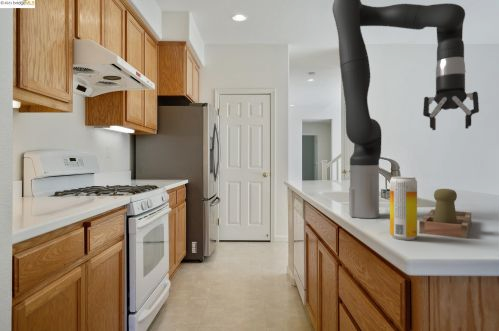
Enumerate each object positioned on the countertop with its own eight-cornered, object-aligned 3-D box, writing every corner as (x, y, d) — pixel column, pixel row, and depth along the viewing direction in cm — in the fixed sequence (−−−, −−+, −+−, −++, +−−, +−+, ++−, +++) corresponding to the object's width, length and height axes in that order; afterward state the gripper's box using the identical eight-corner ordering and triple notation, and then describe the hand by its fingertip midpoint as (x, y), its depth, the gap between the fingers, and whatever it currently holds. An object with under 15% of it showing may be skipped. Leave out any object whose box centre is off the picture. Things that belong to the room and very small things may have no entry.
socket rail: (467, 238, 79) (467, 226, 79) (419, 232, 85) (419, 221, 85) (471, 222, 98) (471, 212, 98) (431, 218, 104) (431, 209, 104)
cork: (463, 233, 83) (463, 190, 83) (437, 232, 84) (437, 190, 83) (452, 228, 89) (452, 188, 88) (428, 227, 90) (428, 187, 89)
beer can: (418, 236, 81) (418, 176, 81) (415, 242, 76) (415, 178, 76) (392, 233, 85) (392, 176, 84) (387, 238, 80) (387, 177, 79)
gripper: (421, 76, 99) (421, 130, 100) (478, 68, 91) (478, 126, 91) (425, 81, 106) (425, 131, 106) (479, 74, 97) (479, 128, 97)
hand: (450, 129), depth 99 cm, fingers open, 8 cm apart
